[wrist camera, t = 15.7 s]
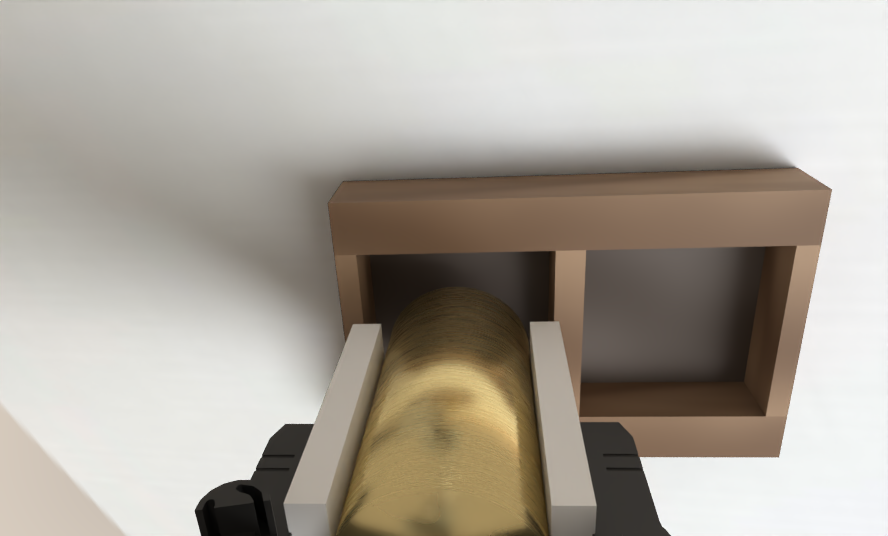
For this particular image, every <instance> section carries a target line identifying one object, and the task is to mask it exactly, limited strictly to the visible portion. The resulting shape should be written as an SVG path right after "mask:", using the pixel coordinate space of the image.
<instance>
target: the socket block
mask: <svg viewBox="0 0 888 536" xmlns="http://www.w3.org/2000/svg"><path fill="white" fill-rule="evenodd" d="M831 192H832V189H830V188H829V187H827V186H825V185H824V184H822V183H821V182H819V181H818V180H816V179H814V178H813V177H811V176H810V175H808V174H807V173H805V172H803V171H802V170H800V169H799V168H778V169H745V170H711V171H677V172H644V173H610V174H576V175H543V176H509V177H476V178H442V179H408V180H375V181H343V182H342V183H341V185H340V186H339V188H338V189H337V191H336V192H335V194H334V195H333V196H332V198H331V199H330V201H329V202H328V209H329V217H330V225H331V233H332V241H333V249H334V257H335V265H336V273H337V281H338V289H339V296H340V304H341V312H342V320H343V328H344V336H345V343H346V341H347V338H348V336H349V333H350V331H351V328H352V325H353V324H381V329H382V339H383V349H384V359H385V355H386V351H387V348H388V344H389V340H390V337H391V333H392V330H393V327H394V324H395V322H396V320H397V319H398V317H399V315H400V314H401V313H402V311H403V310H404V309H405V308H406V307H407V306H408V305H409V304H410V303H411V302H413V301H414V300H416V299H417V298H419V297H420V296H422V295H424V294H426V293H428V292H431V291H434V290H437V289H442V288H448V287H467V288H474V289H478V290H481V291H484V292H487V293H489V294H492V295H494V296H495V297H497V298H499V299H501V300H502V301H503V302H505V303H506V304H507V305H508V306H509V307H510V308H511V309H512V310H513V311H514V312H515V313H516V314H517V316H518V317H519V318H520V320H521V322H522V324H523V325H524V328H525V330H526V333H527V337H528V342H529V351H530V322H554V321H559V324H560V329H561V333H562V338H563V343H564V348H565V353H566V358H567V363H568V368H569V373H570V378H571V383H572V387H573V392H574V397H575V402H576V407H577V412H578V417H579V422H619V423H620V424H621V425H622V426H623V427H624V428H625V429H626V430H627V431H628V432H629V433H630V434H631V435H632V436H633V439H634V442H635V445H636V448H637V451H638V457H779V454H780V449H781V444H782V439H783V434H784V429H785V424H786V419H787V414H788V409H789V404H790V399H791V394H792V389H793V384H794V379H795V373H796V368H797V363H798V358H799V353H800V348H801V343H802V338H803V333H804V328H805V323H806V318H807V313H808V308H809V303H810V298H811V293H812V288H813V283H814V278H815V273H816V268H817V263H818V257H819V252H820V247H821V242H822V237H823V232H824V227H825V222H826V217H827V212H828V207H829V202H830V197H831Z"/></svg>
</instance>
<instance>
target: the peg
mask: <svg viewBox="0 0 888 536" xmlns="http://www.w3.org/2000/svg"><path fill="white" fill-rule="evenodd" d="M336 536H549V531H548V522H547V513H546V504H545V494H544V485H543V476H542V467H541V458H540V449H539V439H538V430H537V421H536V412H535V403H534V394H533V384H532V375H531V366H530V351H529V342H528V337H527V333H526V330H525V328H524V325H523V324H522V322H521V320H520V318H519V317H518V316H517V314H516V313H515V312H514V311H513V310H512V309H511V308H510V307H509V306H508V305H507V304H506V303H505V302H503V301H502V300H501V299H499V298H497V297H495V296H494V295H492V294H489V293H487V292H484V291H481V290H478V289H474V288H467V287H448V288H442V289H437V290H434V291H431V292H428V293H426V294H424V295H422V296H420V297H419V298H417V299H416V300H414V301H413V302H411V303H410V304H409V305H408V306H407V307H406V308H405V309H404V310H403V311H402V313H401V314H400V315H399V317H398V319H397V320H396V322H395V324H394V327H393V330H392V333H391V337H390V340H389V344H388V348H387V351H386V355H385V359H384V362H383V366H382V370H381V373H380V377H379V380H378V384H377V388H376V391H375V395H374V399H373V402H372V406H371V409H370V413H369V417H368V420H367V424H366V428H365V431H364V435H363V438H362V442H361V446H360V449H359V453H358V457H357V460H356V464H355V467H354V471H353V475H352V478H351V482H350V486H349V489H348V493H347V496H346V500H345V504H344V507H343V511H342V515H341V518H340V522H339V525H338V529H337V533H336Z"/></svg>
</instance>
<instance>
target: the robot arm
mask: <svg viewBox="0 0 888 536" xmlns="http://www.w3.org/2000/svg"><path fill="white" fill-rule="evenodd" d="M383 362H384V349H383V339H382V329H381V324H353V325H352V328H351V331H350V333H349V336H348V338H347V341H346V343H345V346H344V349H343V351H342V354H341V356H340V359H339V361H338V364H337V367H336V369H335V372H334V374H333V377H332V380H331V382H330V385H329V387H328V390H327V392H326V395H325V398H324V400H323V403H322V405H321V408H320V411H319V413H318V416H317V418H316V421H315V423H314V424H285V425H284V426H283V427H282V428H281V429H280V430H279V431H277V432H276V433H275V434H274V435H273V436H272V437H271V438H270V439H269V442H268V444H267V446H266V448H265V450H264V452H263V454H262V458H261V459H260V461H259V463H258V465H257V467H256V471H254V473H253V476H252V478H251V480H237V481H233V482H229V483H225V484H223V485H221V486H219V487H217V488H215V489H213V490H211V491H210V492H209V493H208V494H207V495H205V496H204V497H203V498H202V499H201V500H200V502H199V504H198V505H197V507H196V509H195V514H196V517H197V521H198V525H199V529H200V533H201V536H336V533H337V529H338V525H339V522H340V518H341V515H342V511H343V507H344V504H345V500H346V496H347V493H348V489H349V486H350V482H351V478H352V475H353V471H354V467H355V464H356V460H357V457H358V453H359V449H360V446H361V442H362V438H363V435H364V431H365V428H366V424H367V420H368V417H369V413H370V409H371V406H372V402H373V399H374V395H375V391H376V388H377V384H378V380H379V377H380V373H381V370H382V366H383ZM530 366H531V375H532V384H533V394H534V403H535V412H536V421H537V430H538V439H539V449H540V458H541V467H542V476H543V485H544V494H545V504H546V513H547V522H548V531H549V536H671V535H670V534H669V533H668V532H667V531H666V530H665V529H664V528H663V527H662V526H661V524H660V522H659V518H658V515H657V512H656V509H655V506H654V502H653V499H652V496H651V493H650V490H649V486H648V483H647V480H646V477H645V474H644V471H643V467H642V464H641V461H640V458H639V457H638V451H637V448H636V445H635V442H634V439H633V436H632V435H631V434H630V433H629V432H628V431H627V430H626V429H625V428H624V427H623V426H622V425H621V424H620V423H619V422H579V417H578V412H577V407H576V402H575V397H574V392H573V387H572V383H571V378H570V373H569V368H568V363H567V358H566V353H565V348H564V343H563V338H562V333H561V329H560V324H559V321H554V322H530Z"/></svg>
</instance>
